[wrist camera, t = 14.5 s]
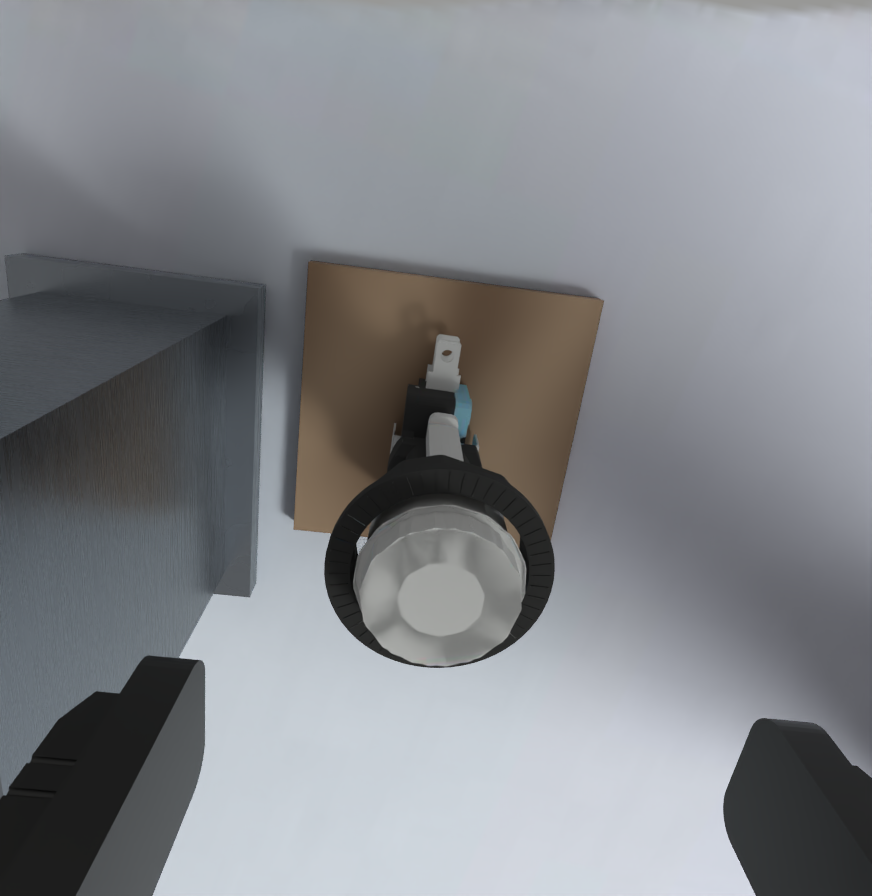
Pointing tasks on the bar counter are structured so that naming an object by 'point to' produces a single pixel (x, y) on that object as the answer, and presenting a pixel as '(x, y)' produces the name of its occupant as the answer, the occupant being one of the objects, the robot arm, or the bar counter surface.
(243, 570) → the block
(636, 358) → the bar counter surface
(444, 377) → the push button
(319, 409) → the plate
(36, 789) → the robot arm
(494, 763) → the bar counter surface
